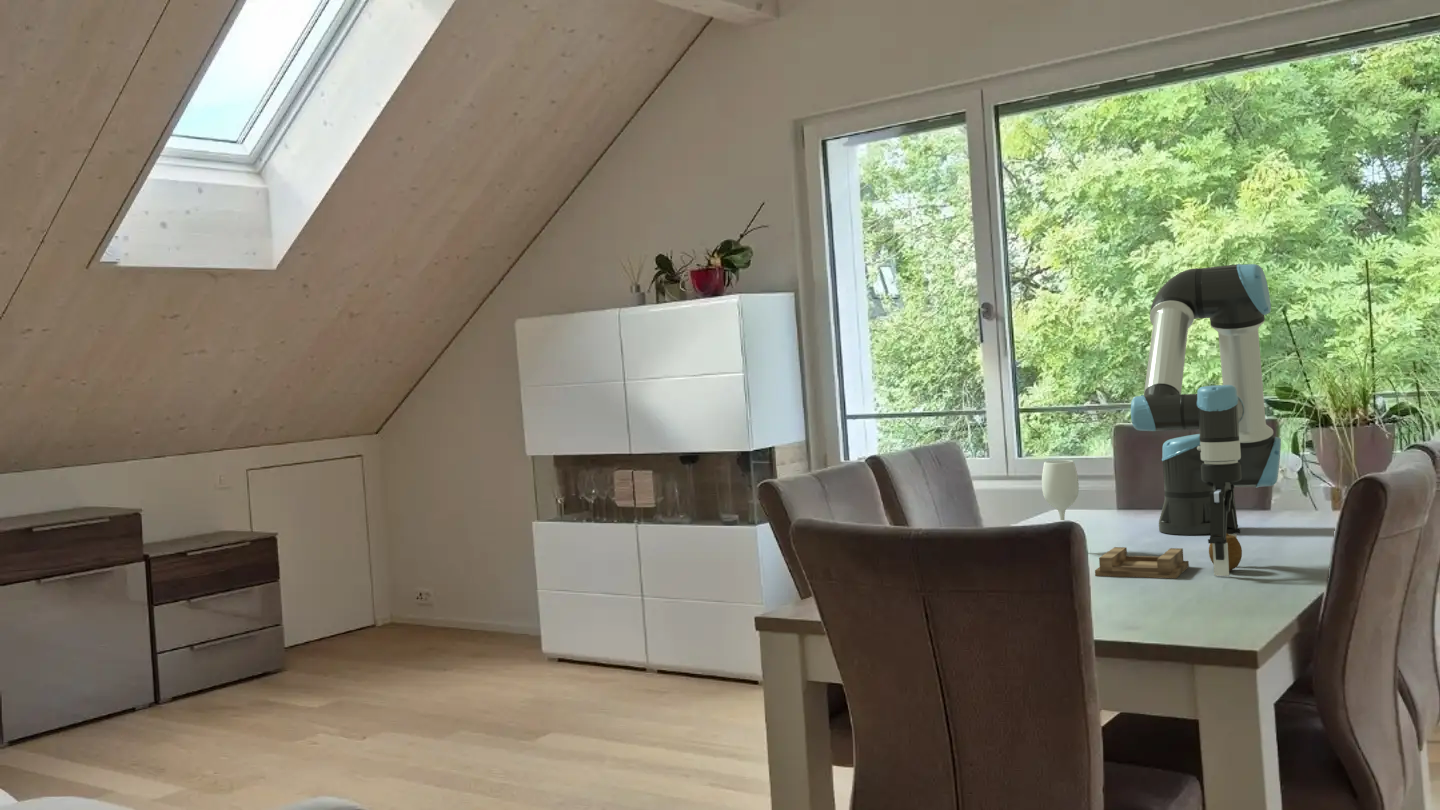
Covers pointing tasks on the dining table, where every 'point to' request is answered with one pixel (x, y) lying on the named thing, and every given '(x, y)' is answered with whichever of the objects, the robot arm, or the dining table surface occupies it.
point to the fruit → (1230, 551)
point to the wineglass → (1060, 484)
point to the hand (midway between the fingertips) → (1226, 570)
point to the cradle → (1142, 564)
